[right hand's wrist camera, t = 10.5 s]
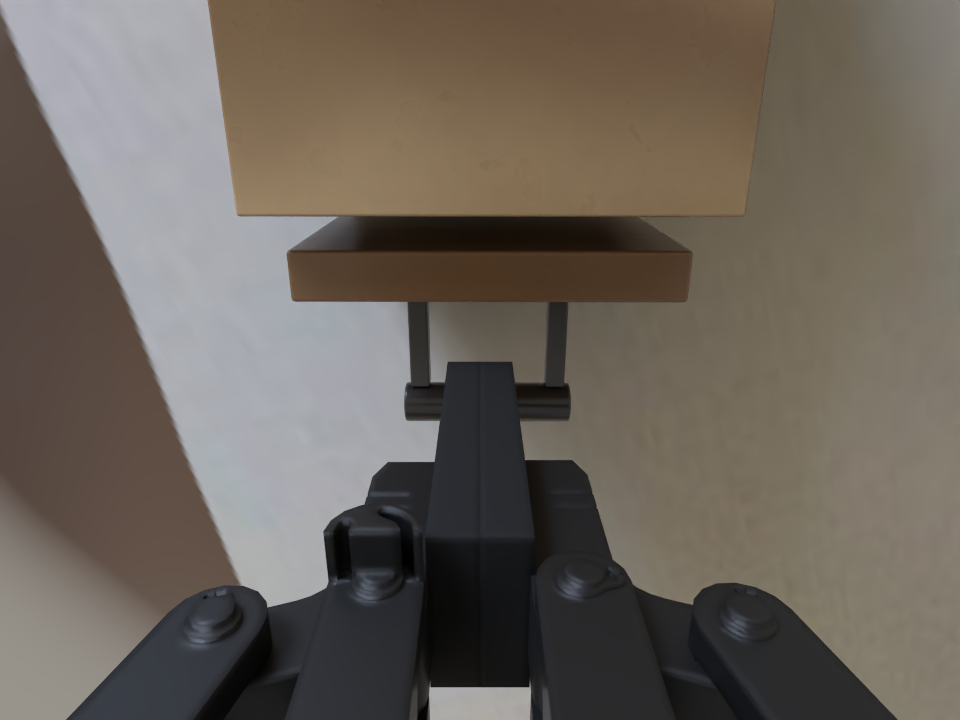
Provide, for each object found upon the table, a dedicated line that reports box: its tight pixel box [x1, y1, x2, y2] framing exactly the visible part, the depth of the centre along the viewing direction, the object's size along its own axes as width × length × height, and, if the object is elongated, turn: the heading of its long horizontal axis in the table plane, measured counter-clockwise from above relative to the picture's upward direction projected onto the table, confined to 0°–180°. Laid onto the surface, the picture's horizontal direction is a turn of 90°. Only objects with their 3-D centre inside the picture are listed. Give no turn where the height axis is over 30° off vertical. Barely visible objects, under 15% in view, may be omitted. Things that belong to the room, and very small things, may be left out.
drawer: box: [287, 216, 693, 421], centre depth 17 cm, size 23×9×9 cm, turn 0°
